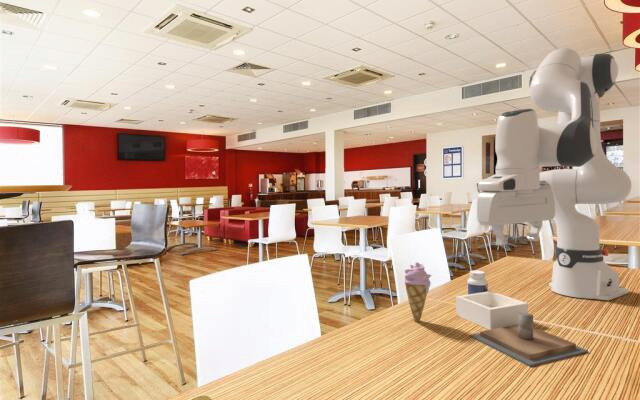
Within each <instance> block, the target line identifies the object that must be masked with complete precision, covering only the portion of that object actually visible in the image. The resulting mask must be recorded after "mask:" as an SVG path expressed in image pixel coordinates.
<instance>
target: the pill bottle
mask: <svg viewBox="0 0 640 400" xmlns="http://www.w3.org/2000/svg"><path fill="white" fill-rule="evenodd" d="M485 278H486V272H485V271H483V270H475V269H474V270H470V271H469V278H467V283H466V284H467V295H468V294H475V293H482V292H488V290H489V289H488V286H489V285H488V284H489V283H488V280H487V279H485Z"/></svg>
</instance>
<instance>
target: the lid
mask: <svg viewBox="0 0 640 400" xmlns="http://www.w3.org/2000/svg"><path fill="white" fill-rule="evenodd" d="M479 333H480V336H481V337H483V338H485V339H487V340H490V341H492V342H494V343H496V344H498V345H500V346H502V347H504V348H506V349H508V350H510V351H512V352H514V353H516V354H518V355H520V356H522V357H525V358H527V359H529V360H531V359H535V358H539V357H544V356H548V355H552V354H556V353H560V352H564V351H568V350H572V349H576V346H577V344H576V343H574V342H572V341H569V340H567V339H564V338H563V337H562V338H561V337H559V336H556V335H553V334H552V333H548V332H546V331H544V330H541V329H538V328H536V327H534V315H533V314H531V313H529V312H528V313H519V324H517V325H512V326H507V327H501V328H496V329H491V330H489V329H486V330H483V331H479Z"/></svg>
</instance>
